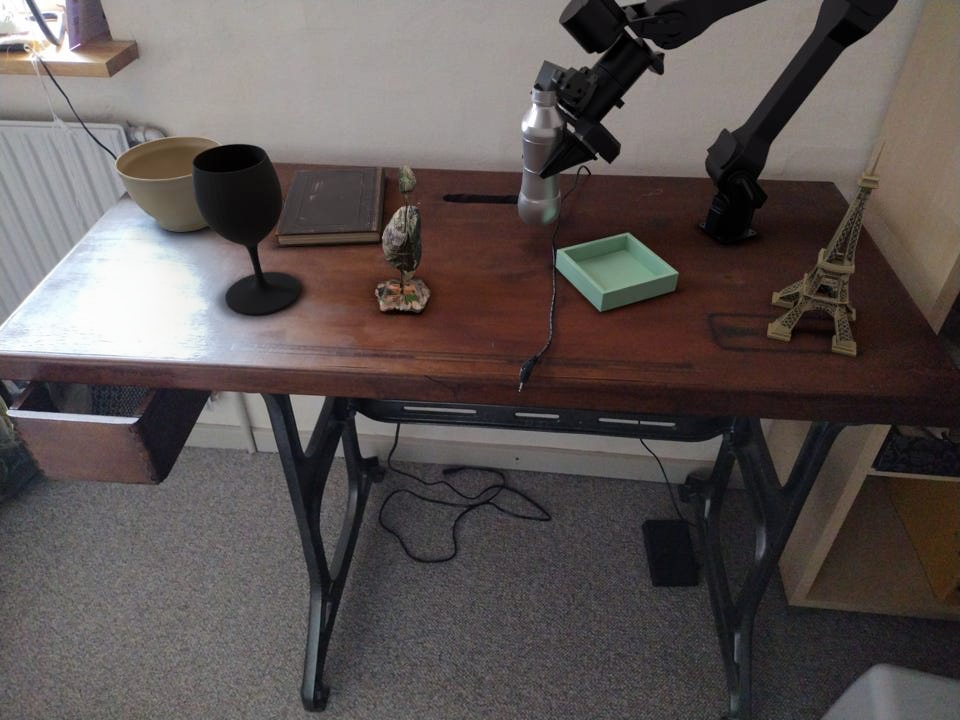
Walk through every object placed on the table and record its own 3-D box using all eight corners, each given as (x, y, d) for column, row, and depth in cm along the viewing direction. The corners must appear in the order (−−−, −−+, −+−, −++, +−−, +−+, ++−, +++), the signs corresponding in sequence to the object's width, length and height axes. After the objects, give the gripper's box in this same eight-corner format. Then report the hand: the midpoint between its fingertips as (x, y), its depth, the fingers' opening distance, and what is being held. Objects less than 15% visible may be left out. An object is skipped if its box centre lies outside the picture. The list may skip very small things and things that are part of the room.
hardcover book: (277, 247, 104) (274, 234, 102) (297, 181, 121) (295, 169, 120) (381, 243, 105) (380, 230, 103) (386, 178, 122) (384, 166, 121)
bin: (625, 249, 103) (628, 232, 101) (675, 290, 95) (679, 272, 93) (555, 267, 99) (556, 249, 98) (600, 312, 91) (603, 293, 89)
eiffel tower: (766, 336, 87) (832, 150, 71) (773, 293, 94) (833, 116, 78) (855, 356, 84) (945, 166, 67) (854, 310, 91) (935, 129, 75)
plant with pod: (441, 274, 98) (435, 141, 85) (422, 320, 89) (412, 180, 76) (387, 269, 99) (373, 137, 86) (363, 313, 90) (344, 174, 78)
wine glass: (234, 324, 89) (192, 183, 76) (218, 285, 96) (178, 150, 83) (310, 303, 92) (283, 165, 79) (290, 267, 99) (262, 135, 87)
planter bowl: (118, 241, 105) (92, 175, 98) (167, 194, 117) (147, 133, 110) (216, 247, 104) (197, 181, 97) (255, 199, 116) (240, 138, 109)
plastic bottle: (510, 226, 100) (513, 92, 86) (526, 205, 104) (531, 74, 91) (551, 235, 98) (561, 99, 84) (566, 213, 102) (577, 80, 89)
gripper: (546, 20, 92) (472, 111, 97) (609, 58, 79) (520, 161, 83) (592, 72, 99) (521, 155, 104) (657, 116, 86) (573, 208, 90)
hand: (532, 168), depth 95 cm, fingers closed on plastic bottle, 6 cm apart
